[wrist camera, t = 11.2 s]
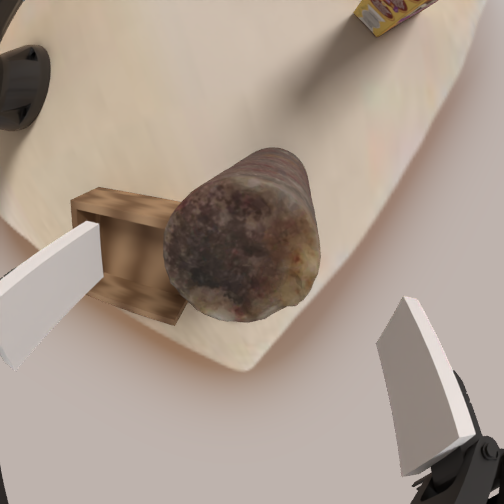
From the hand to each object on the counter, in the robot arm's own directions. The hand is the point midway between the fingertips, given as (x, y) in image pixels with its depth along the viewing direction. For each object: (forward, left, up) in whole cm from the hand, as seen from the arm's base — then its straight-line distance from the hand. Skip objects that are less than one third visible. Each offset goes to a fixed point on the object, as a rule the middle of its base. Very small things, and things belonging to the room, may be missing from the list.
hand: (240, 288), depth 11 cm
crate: (-15, -12, -21) cm, 29 cm away
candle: (0, 0, -21) cm, 21 cm away
